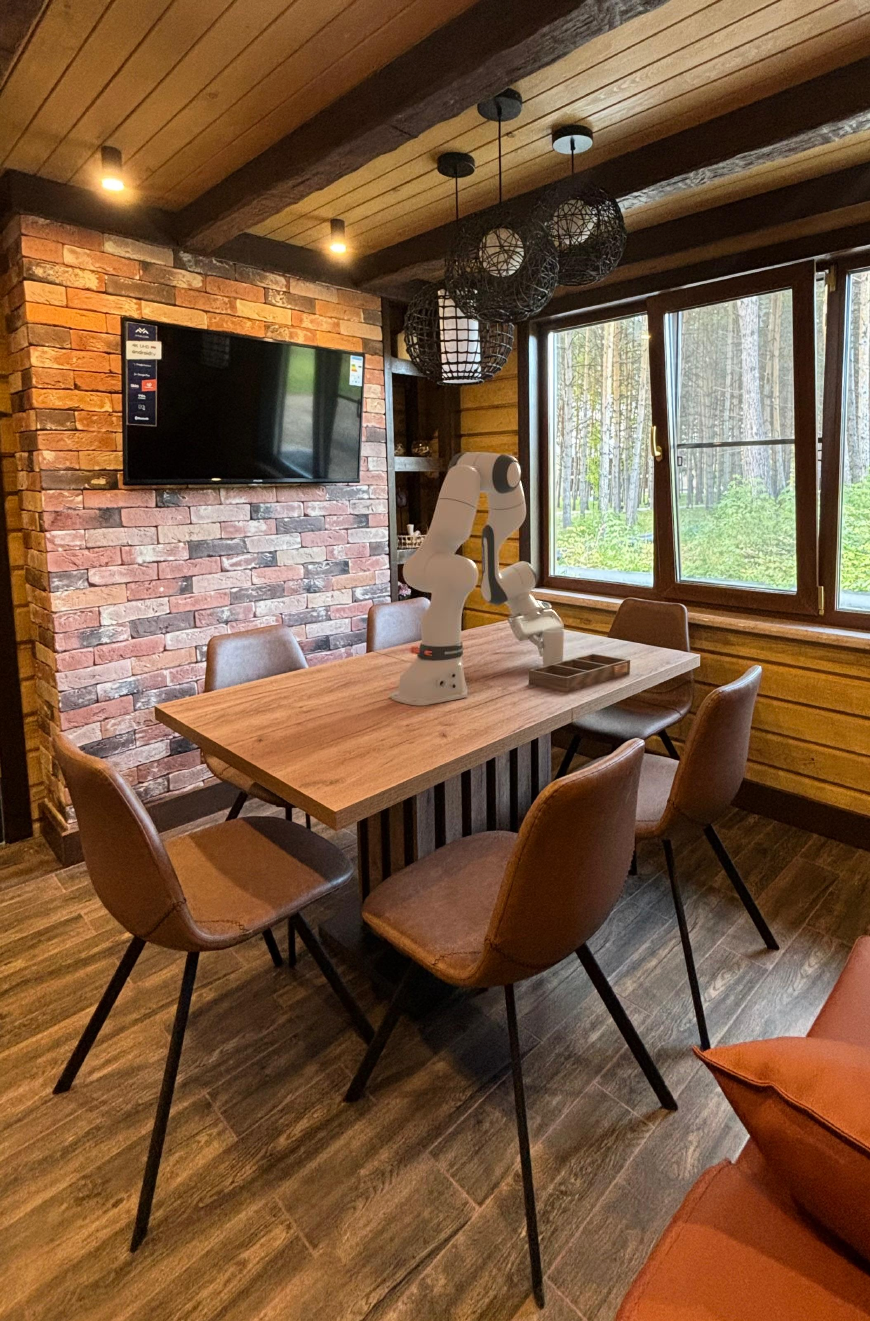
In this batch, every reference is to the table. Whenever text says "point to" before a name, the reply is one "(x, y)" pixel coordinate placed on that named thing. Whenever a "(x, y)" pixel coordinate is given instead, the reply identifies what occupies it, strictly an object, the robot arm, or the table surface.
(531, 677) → the tray
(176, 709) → the table surface
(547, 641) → the mug
